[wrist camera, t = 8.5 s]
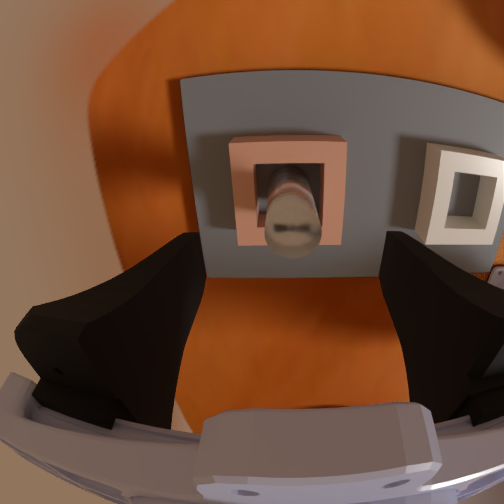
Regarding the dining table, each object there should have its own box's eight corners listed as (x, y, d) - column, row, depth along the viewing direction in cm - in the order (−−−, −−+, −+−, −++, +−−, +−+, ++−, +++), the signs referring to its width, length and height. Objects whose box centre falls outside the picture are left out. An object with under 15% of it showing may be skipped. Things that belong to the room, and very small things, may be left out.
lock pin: (308, 164, 17) (323, 207, 12) (308, 201, 19) (320, 257, 13) (268, 165, 18) (262, 207, 12) (269, 202, 19) (265, 258, 13)
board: (516, 108, 13) (524, 110, 13) (484, 265, 21) (489, 271, 20) (184, 79, 16) (179, 79, 15) (210, 270, 23) (207, 277, 22)
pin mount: (495, 154, 15) (511, 162, 13) (479, 231, 18) (492, 244, 16) (426, 142, 15) (441, 150, 14) (414, 229, 19) (425, 244, 17)
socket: (340, 135, 16) (347, 142, 14) (335, 229, 19) (340, 244, 18) (234, 137, 17) (228, 143, 15) (241, 230, 20) (238, 245, 18)
